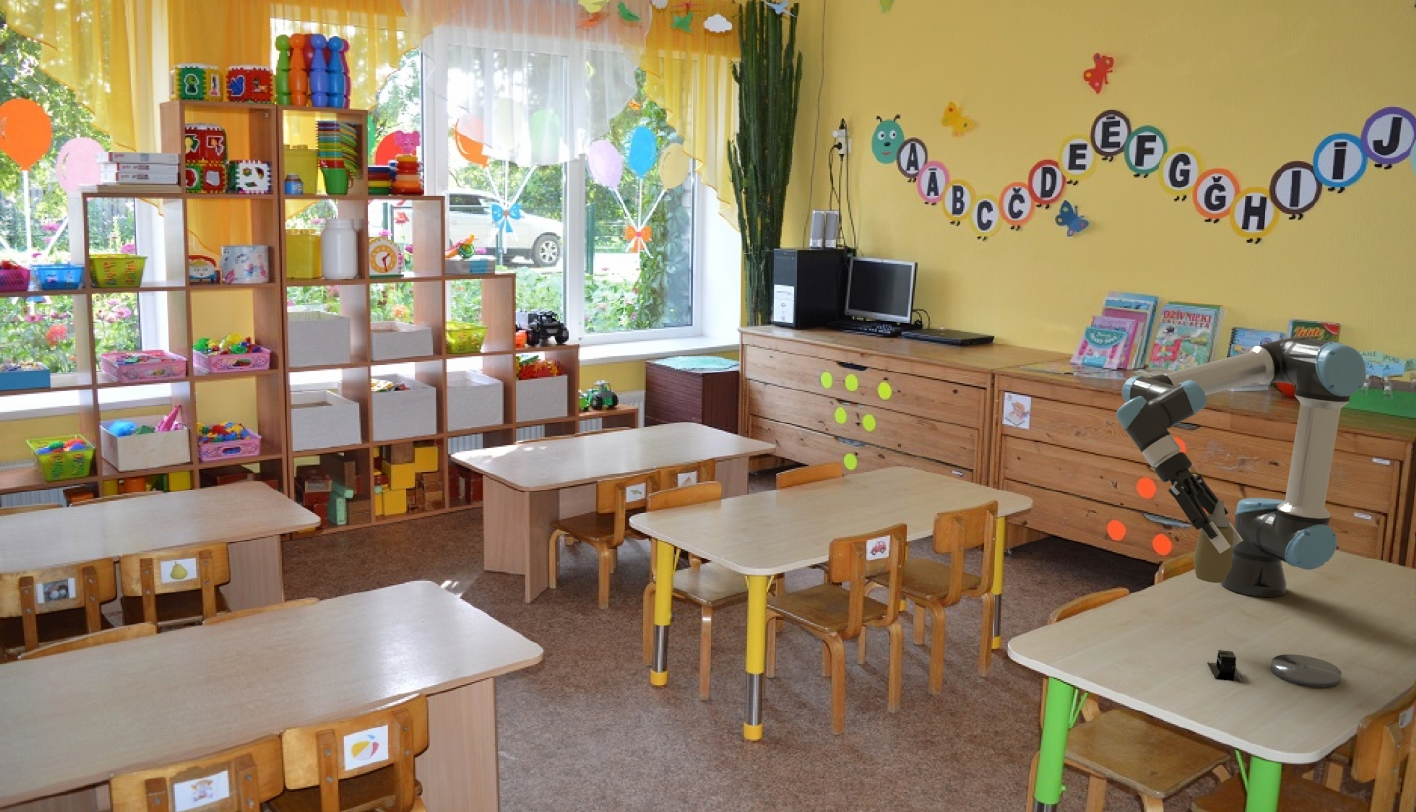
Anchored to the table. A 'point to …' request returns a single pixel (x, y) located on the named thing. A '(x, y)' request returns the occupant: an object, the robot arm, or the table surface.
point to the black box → (1225, 667)
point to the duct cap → (1306, 671)
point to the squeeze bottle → (1214, 550)
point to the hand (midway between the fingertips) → (1231, 546)
